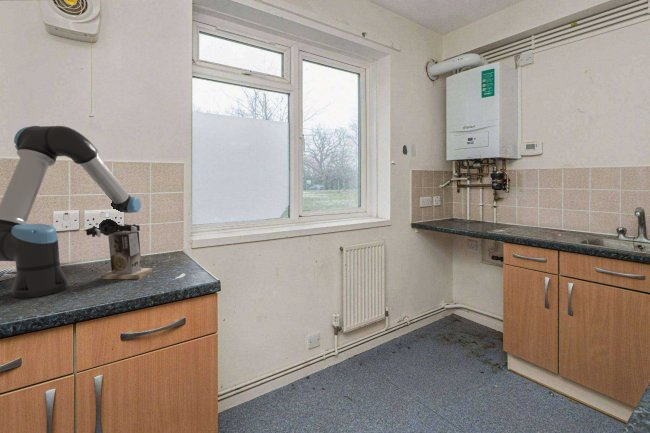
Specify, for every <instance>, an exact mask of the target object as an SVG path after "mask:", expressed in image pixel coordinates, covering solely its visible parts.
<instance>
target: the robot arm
mask: <svg viewBox="0 0 650 433" xmlns="http://www.w3.org/2000/svg"><path fill="white" fill-rule="evenodd" d="M13 143H14V144H15V146H14V147H15V149H16V154H17V156H18V157H19V159H18V162H17V165H16V166H15V169H14V171H13V174H12V175H11V179H10V181H9V183H8V185H7V188H6V190H5V192H4V195H3V196H2V199H1V202H0V262H15V267H16V268H15V271H16V274H15V278H14V282H13V284H12V288H11V295H12V297H13V298H16V297H17V298H18V299H27V298H38V297H43V296H48V295H52V294H55V293H59V292H62V291H65V289H67V288H68V287H69V282H68V278H67V277H66V275H65V273H64V271H63V269H62V267H61V260H60V252H59V250H60V248H59V236H58V233H57V229H56V227H54V226H53V225H50V224H46V223H45V224H44V223H28V222H27V221H28V219H29V216H30V214H31V211H32V209H33V205H34V203H35V201H36V198H37V195H38V193H39V192H40V191H39V190H40V188H41V185H42V183H43V181H44V178H45V176H46V174H47V170H48V168H49V167H51V166H54V165H55V164H56V161H57V158H58V157H67V158H68V159H71V160H72V161H73V162H74V163H75V164H76V165H80V166H81V167H82V169H83V170H84V171H85V172H86V173H87V174H88V175H89V177H90V178H91V179H92V181H94V182H95V184H96V185H97V187H99V188H100V189H101V190H102V191H103V193H105V194H106V195H107V196H108V197H109V198H110V199H111V200H112V203H111V206H112V207H113V209H116V210H118V211H120V212H124V213H125V214H134V213H139V211H140V210H141V208H142V203H141V200H140V199H139V198H138V197H136V196H135V197H134V196H131V194H129V193H128V191H127V190H126V189H125V188H124V186H123V185H122V183H121V182H120V181H119V180H118V179H117V177H116V176H115V175H114V174H113V173H112V171H111V170H110V169H109V167H108V166H107V165H106V163H105V162H104V161H103V160H102V159H101V157H100V156H99V150H98V149H97V148H96V146H94V144H93V143H92V142H91V141H90V140H89V139H88V138H87V137H85V135H83V134H82V133H80V132H78V131H77V130H75V129H73V128H72V127H68V126H64V125H49V126H47V125H46V126H45V125H43V126H41V125H40V126H39V125H30V126H25V127H23V128H21V129H19V130H18V131H17V132H16V134H15V135H14V139H13ZM124 213H123V214H124ZM140 229H141V228H140V225H139V224H138V225H137V224H128V223H125V224H120V223H119V224H118V222H116V221H115V220H113V219H112V220H111V219H106V220H103V221H102V222H101V223H100V224H99V228H97V227H95V226H93V225H92V227H90V228H86V232H85V233H86V236H91V237H93V238H94V237H98V238H101V234H102V235H104V236H107V237H108V234H112V233H115V232H119V231H122V232H124V231H126V232H140V231H141V230H140Z"/></svg>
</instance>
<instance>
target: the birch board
mask: <svg viewBox="0 0 650 433" xmlns="http://www.w3.org/2000/svg"><path fill="white" fill-rule="evenodd" d="M152 272H153V268H152V267H151V268H150V267H142V270H140V271H138V272H135V273H133V274H120V273H112V269H111V270H109V271H107V272H105V273H103V274H101V275H100V280H136V279H137V280H140V279H142V278H143V277H145V276H147V275H149V274H150V273H152Z"/></svg>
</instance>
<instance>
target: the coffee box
mask: <svg viewBox="0 0 650 433" xmlns="http://www.w3.org/2000/svg"><path fill="white" fill-rule="evenodd" d="M118 231H119V230H118ZM107 237H108V247H109V255H110V266H111V270H112V273H120V274H133V273H135V272H138V271H140V270H142V268H143V267H142V259H141V258H142V257H141V256H142V255H141V245H140V231H137V232H131V231H119V232H115V233H112V234H108V236H107Z"/></svg>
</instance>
